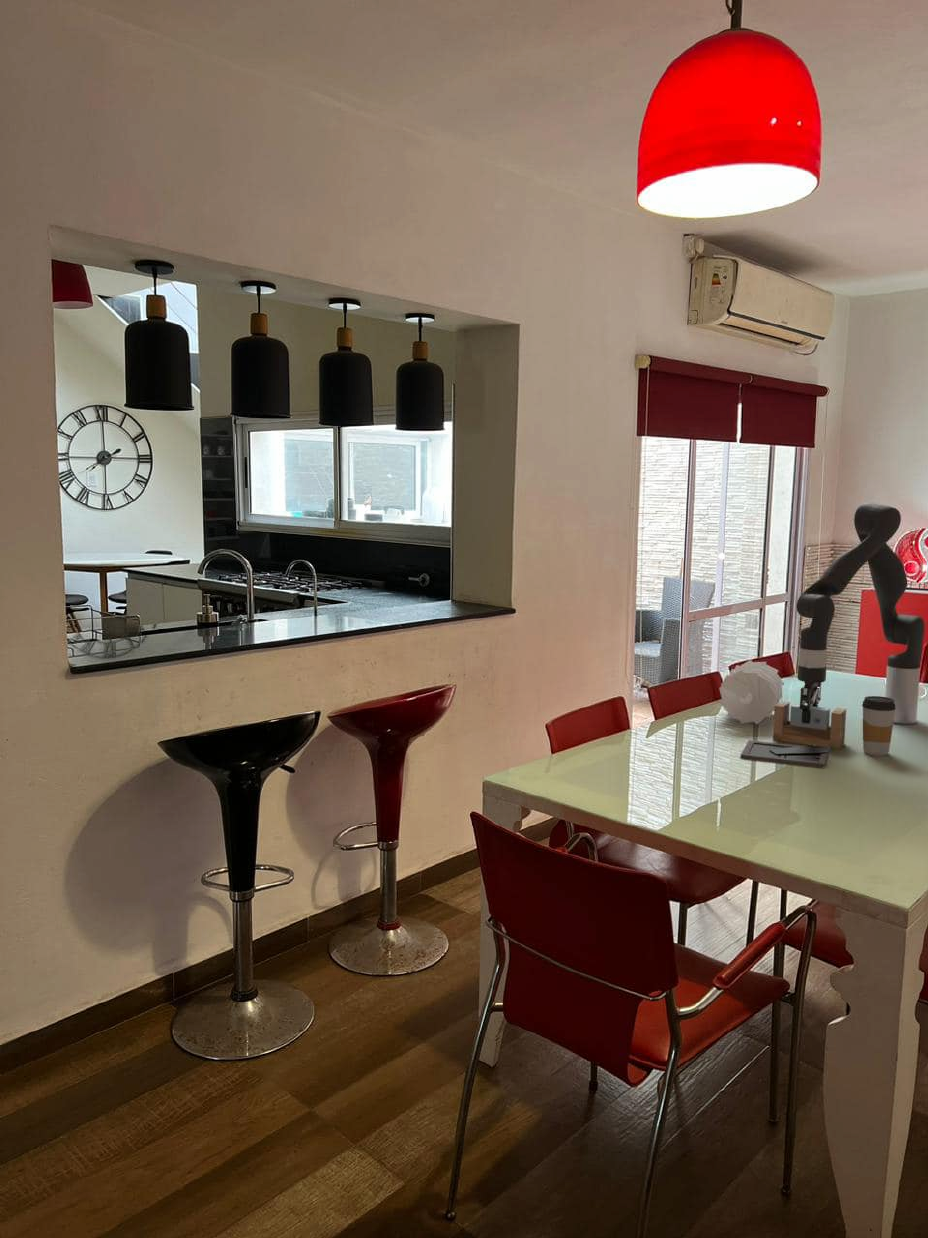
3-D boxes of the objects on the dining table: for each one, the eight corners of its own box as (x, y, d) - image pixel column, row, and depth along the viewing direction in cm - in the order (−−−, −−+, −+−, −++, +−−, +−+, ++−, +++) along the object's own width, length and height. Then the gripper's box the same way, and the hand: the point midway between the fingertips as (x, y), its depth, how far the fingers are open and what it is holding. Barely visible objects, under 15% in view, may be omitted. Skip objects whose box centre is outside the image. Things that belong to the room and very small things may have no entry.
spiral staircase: (768, 723, 296) (758, 737, 273) (719, 695, 302) (706, 707, 279) (796, 675, 291) (789, 686, 269) (746, 648, 297) (735, 656, 275)
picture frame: (828, 754, 248) (748, 745, 257) (828, 747, 248) (748, 738, 257) (824, 770, 234) (740, 760, 242) (824, 762, 233) (740, 753, 242)
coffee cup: (896, 757, 243) (899, 703, 241) (863, 756, 244) (866, 701, 242) (888, 749, 251) (891, 696, 249) (856, 747, 252) (859, 695, 250)
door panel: (792, 731, 262) (793, 704, 261) (828, 736, 257) (830, 708, 256) (788, 734, 259) (790, 706, 258) (825, 739, 254) (826, 711, 253)
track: (779, 734, 267) (780, 701, 265) (844, 743, 257) (846, 709, 255) (772, 739, 261) (774, 705, 259) (839, 749, 251) (841, 714, 250)
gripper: (804, 659, 264) (801, 713, 266) (792, 666, 252) (789, 723, 254) (831, 661, 259) (828, 716, 262) (820, 669, 248) (817, 727, 250)
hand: (809, 720), depth 258 cm, fingers open, 8 cm apart
